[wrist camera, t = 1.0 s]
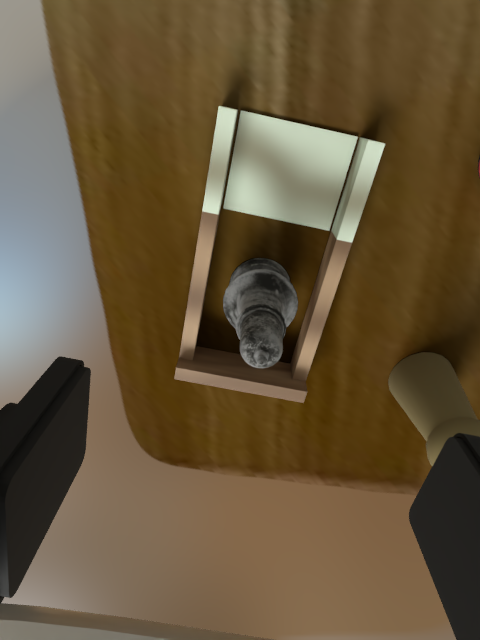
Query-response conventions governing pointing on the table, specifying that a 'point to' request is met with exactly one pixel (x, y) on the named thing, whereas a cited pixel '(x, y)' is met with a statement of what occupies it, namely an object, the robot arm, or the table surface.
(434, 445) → the cork
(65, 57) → the table surface
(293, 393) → the bay
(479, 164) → the beverage can
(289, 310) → the grey chess piece
